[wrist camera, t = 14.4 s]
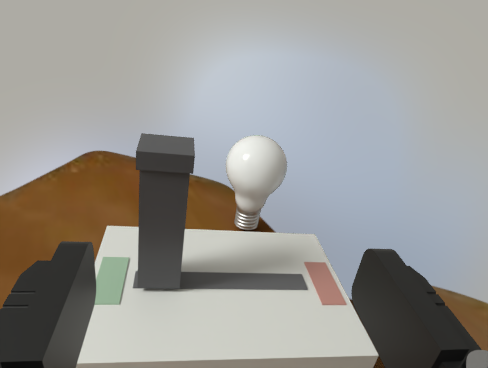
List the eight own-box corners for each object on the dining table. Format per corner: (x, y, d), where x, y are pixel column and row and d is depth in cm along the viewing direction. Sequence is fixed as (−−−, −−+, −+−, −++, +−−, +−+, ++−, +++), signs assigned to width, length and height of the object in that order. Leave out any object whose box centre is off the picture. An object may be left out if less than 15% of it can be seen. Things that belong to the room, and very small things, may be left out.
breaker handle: (182, 263, 29) (193, 138, 25) (182, 290, 27) (194, 155, 22) (139, 262, 29) (141, 133, 24) (134, 290, 26) (136, 151, 21)
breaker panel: (308, 257, 38) (315, 233, 37) (365, 383, 26) (379, 354, 25) (108, 252, 34) (107, 224, 33) (64, 396, 22) (60, 362, 21)
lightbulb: (281, 243, 40) (303, 150, 35) (225, 247, 38) (240, 149, 33) (261, 212, 45) (278, 127, 40) (211, 214, 43) (223, 125, 38)
